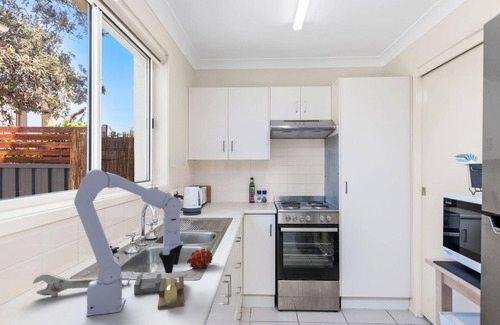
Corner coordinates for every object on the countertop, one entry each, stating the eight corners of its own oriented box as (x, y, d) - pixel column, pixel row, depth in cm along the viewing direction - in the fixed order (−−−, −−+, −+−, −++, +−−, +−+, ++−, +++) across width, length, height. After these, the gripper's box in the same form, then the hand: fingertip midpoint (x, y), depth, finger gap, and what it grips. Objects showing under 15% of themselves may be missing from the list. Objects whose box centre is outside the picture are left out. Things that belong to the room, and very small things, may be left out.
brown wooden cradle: (157, 309, 85) (157, 299, 85) (161, 286, 101) (161, 278, 101) (183, 305, 87) (183, 296, 87) (183, 284, 103) (183, 276, 103)
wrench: (128, 293, 102) (30, 299, 91) (128, 290, 104) (32, 297, 93) (130, 271, 103) (33, 275, 91) (130, 269, 104) (35, 273, 93)
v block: (134, 295, 94) (134, 285, 94) (137, 285, 102) (137, 275, 102) (159, 292, 96) (159, 282, 96) (161, 282, 104) (161, 273, 104)
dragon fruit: (215, 268, 122) (189, 278, 116) (208, 253, 127) (183, 261, 122) (217, 257, 117) (190, 266, 111) (210, 241, 122) (183, 249, 117)
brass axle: (177, 304, 86) (176, 292, 86) (164, 307, 85) (163, 294, 85) (177, 287, 97) (176, 276, 97) (166, 290, 96) (165, 278, 96)
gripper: (177, 235, 89) (178, 276, 89) (187, 225, 104) (187, 260, 104) (156, 235, 89) (156, 277, 89) (168, 225, 104) (169, 261, 104)
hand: (171, 268), depth 97 cm, fingers open, 7 cm apart
